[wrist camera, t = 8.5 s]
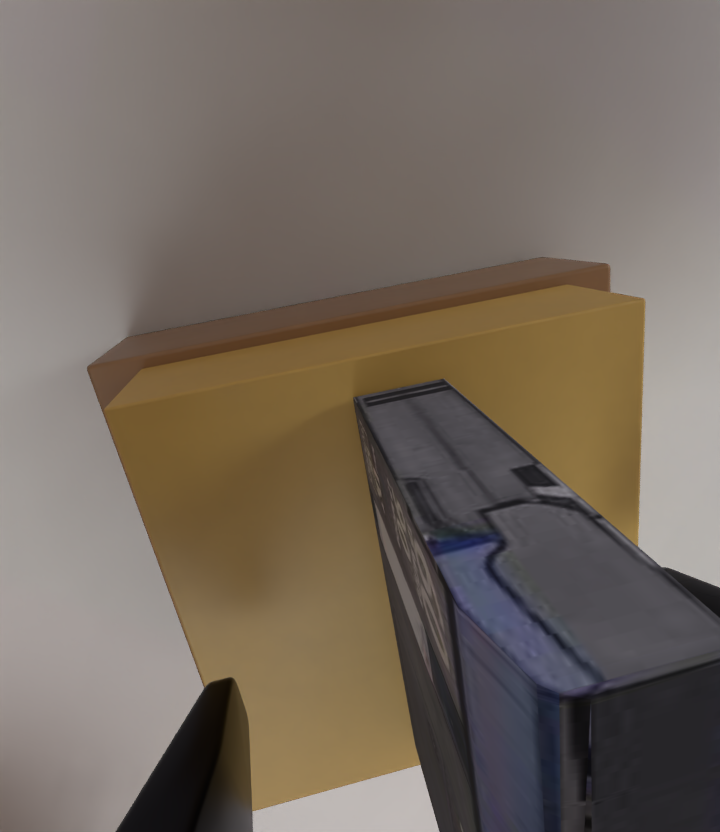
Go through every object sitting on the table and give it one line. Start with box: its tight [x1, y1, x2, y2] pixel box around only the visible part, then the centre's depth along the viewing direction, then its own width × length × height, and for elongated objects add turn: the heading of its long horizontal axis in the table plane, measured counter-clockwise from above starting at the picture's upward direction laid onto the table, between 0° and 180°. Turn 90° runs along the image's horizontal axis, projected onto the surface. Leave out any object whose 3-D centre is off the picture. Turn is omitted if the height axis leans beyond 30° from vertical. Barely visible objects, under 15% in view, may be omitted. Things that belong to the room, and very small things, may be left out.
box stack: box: [87, 257, 645, 811], centre depth 13 cm, size 11×10×6 cm
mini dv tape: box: [353, 379, 720, 832], centre depth 7 cm, size 8×2×6 cm, turn 9°
